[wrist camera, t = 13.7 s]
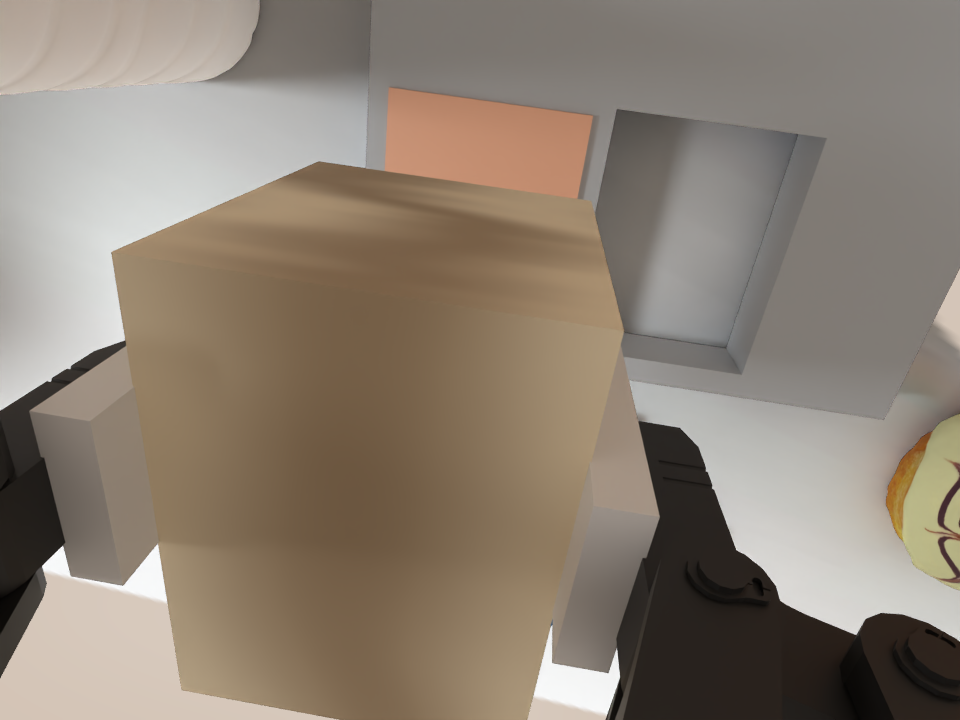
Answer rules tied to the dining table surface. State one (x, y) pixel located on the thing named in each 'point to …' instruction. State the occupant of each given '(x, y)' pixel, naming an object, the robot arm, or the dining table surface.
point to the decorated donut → (930, 502)
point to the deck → (727, 100)
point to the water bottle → (119, 42)
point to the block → (369, 435)
